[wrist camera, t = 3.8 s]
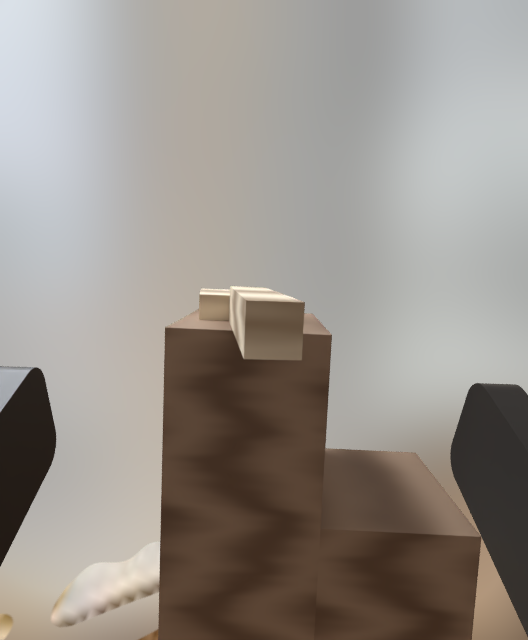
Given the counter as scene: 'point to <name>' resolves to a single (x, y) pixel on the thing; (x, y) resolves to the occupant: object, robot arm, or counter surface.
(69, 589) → the counter surface
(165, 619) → the walnut step stand
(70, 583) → the counter surface
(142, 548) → the counter surface
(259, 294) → the l-shaped block
